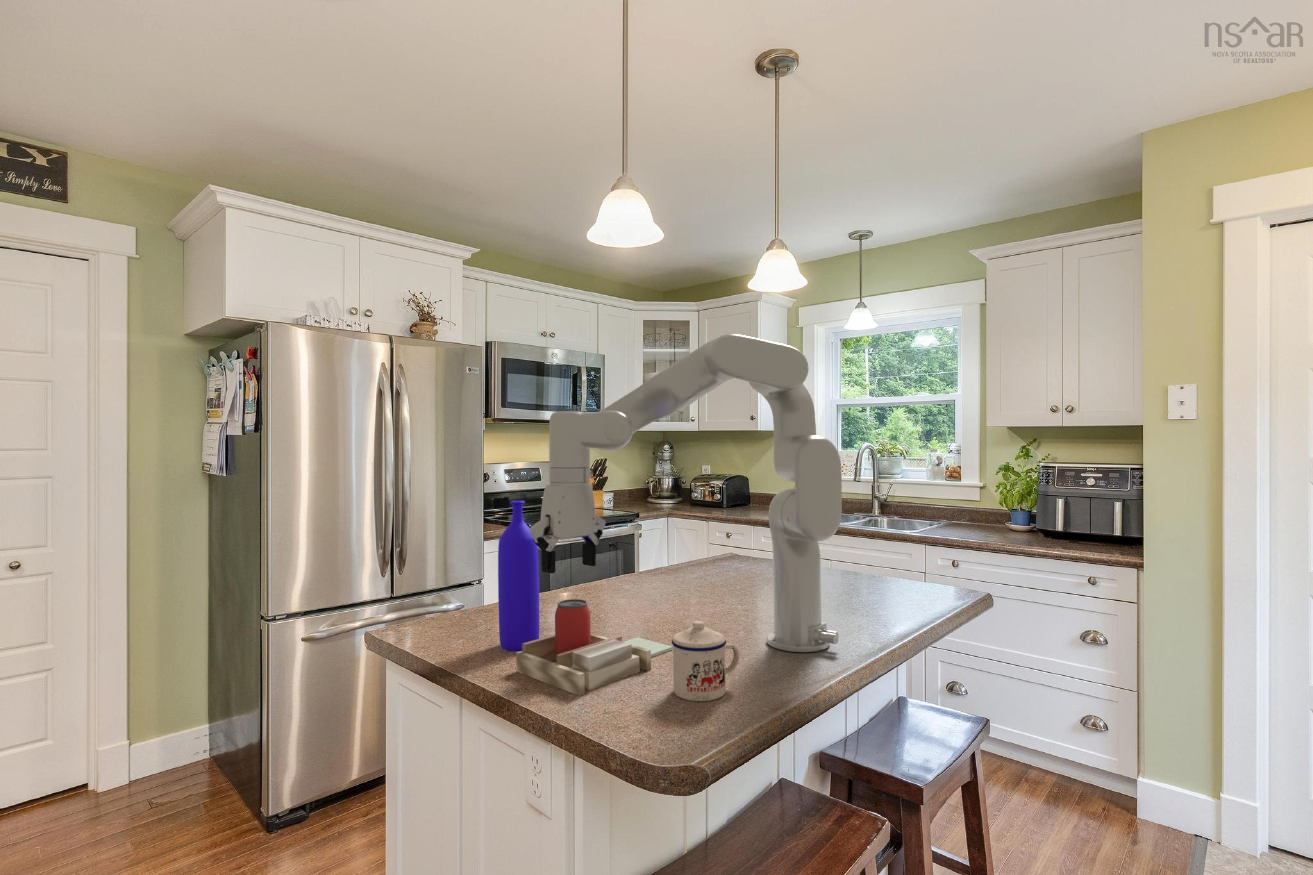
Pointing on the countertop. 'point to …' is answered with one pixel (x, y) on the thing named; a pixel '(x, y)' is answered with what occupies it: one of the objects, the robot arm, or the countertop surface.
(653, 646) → the mat
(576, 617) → the beer can
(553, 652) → the tray
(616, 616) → the countertop surface
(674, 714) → the countertop surface
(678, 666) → the teacup with lid
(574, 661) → the offcut stack
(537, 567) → the bottle
